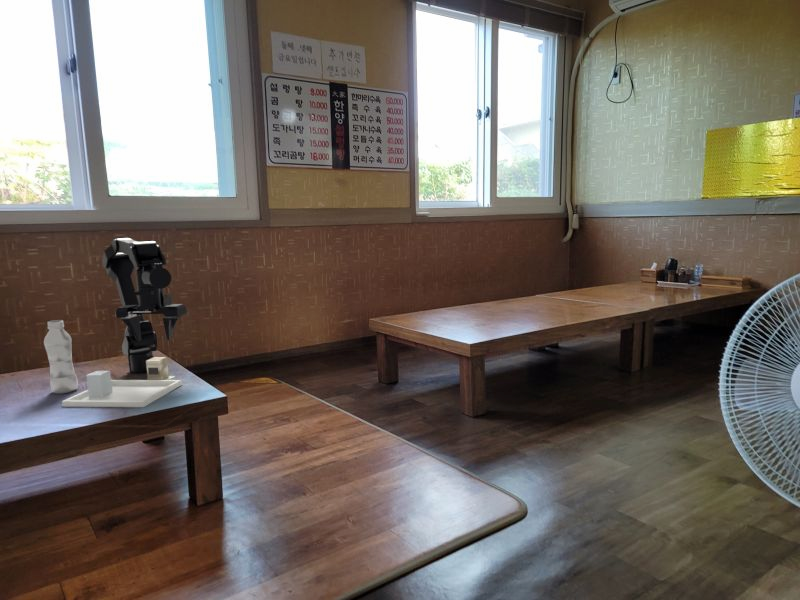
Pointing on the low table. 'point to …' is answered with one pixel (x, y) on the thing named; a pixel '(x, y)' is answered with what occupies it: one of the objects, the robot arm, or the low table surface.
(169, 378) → the mat
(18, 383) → the low table surface
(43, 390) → the low table surface
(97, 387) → the plain block
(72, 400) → the tray
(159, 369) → the labelled block
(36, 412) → the low table surface
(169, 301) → the robot arm
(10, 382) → the low table surface
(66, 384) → the plastic bottle
